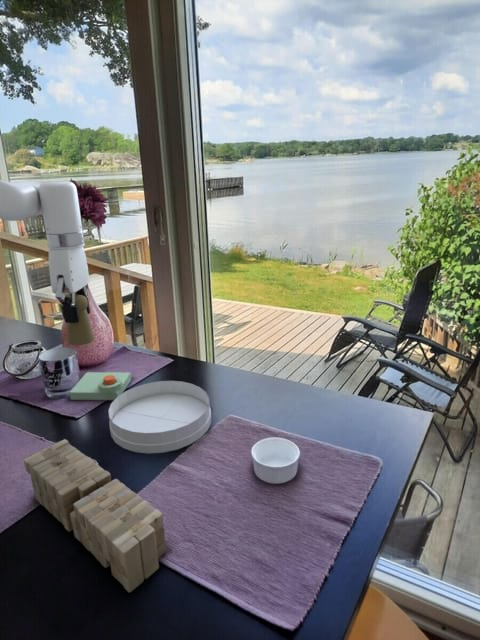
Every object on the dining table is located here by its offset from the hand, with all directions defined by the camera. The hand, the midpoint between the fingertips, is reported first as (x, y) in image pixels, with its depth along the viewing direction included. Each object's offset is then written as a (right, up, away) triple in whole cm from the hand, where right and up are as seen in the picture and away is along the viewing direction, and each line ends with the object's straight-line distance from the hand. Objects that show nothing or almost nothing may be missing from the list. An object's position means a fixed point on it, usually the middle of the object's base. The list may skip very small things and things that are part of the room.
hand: (77, 317), depth 103 cm
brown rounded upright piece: (0, -6, +2) cm, 6 cm away
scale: (+3, -19, +10) cm, 22 cm away
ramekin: (+45, -29, -21) cm, 57 cm away
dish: (+21, -24, -5) cm, 32 cm away
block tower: (+15, -34, -32) cm, 49 cm away
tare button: (+6, -16, +6) cm, 18 cm away
